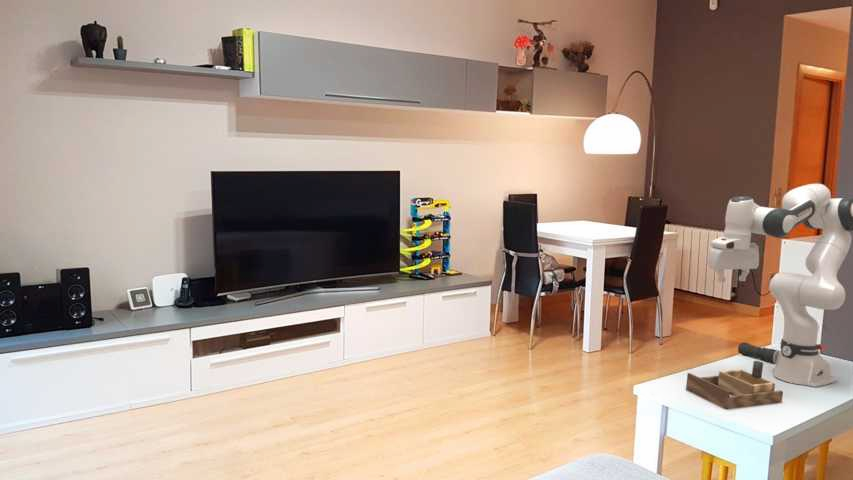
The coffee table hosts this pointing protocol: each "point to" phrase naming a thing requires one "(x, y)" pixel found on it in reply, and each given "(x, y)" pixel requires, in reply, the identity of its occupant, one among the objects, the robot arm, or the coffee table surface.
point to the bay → (728, 393)
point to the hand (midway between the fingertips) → (731, 281)
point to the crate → (745, 381)
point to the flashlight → (758, 352)
